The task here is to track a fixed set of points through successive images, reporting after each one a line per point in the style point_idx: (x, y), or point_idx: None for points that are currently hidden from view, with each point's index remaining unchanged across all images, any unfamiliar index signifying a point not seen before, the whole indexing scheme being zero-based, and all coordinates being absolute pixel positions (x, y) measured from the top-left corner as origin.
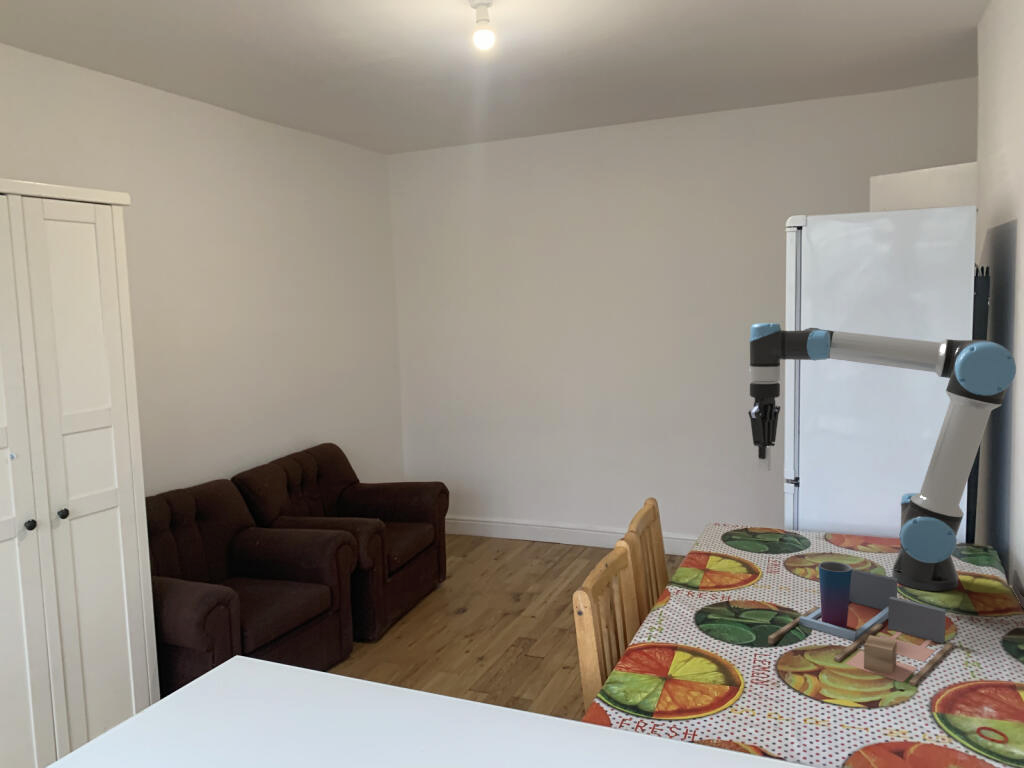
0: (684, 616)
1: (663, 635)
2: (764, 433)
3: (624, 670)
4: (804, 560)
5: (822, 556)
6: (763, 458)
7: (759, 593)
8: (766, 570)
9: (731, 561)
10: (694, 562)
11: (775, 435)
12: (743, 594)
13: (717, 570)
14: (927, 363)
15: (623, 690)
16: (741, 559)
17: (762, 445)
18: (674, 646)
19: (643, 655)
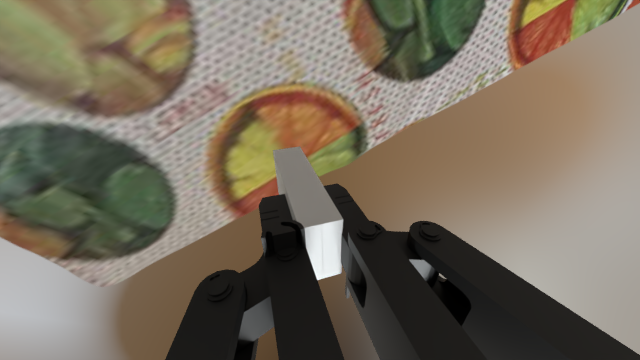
0: (441, 80)
1: (493, 63)
2: (455, 329)
3: (568, 39)
4: (101, 83)
5: (29, 67)
6: (339, 186)
7: (321, 50)
8: (221, 103)
9: (234, 165)
10: None
11: (184, 347)
12: (339, 67)
13: None
14: None
15: (602, 12)
16: (212, 162)
17: (426, 221)
18: (514, 34)
19: (538, 47)
